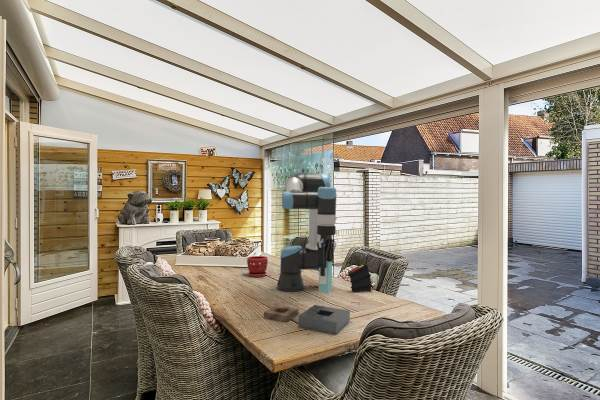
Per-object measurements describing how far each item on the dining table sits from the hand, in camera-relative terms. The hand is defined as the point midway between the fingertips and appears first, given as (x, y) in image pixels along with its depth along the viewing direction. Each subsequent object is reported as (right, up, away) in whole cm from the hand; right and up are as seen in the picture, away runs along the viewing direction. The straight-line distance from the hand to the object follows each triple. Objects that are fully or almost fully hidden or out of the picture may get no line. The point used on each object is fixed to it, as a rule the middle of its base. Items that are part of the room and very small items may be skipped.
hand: (325, 282), depth 146 cm
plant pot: (-38, -15, +85) cm, 95 cm away
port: (0, -17, 0) cm, 17 cm away
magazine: (+22, -17, +52) cm, 59 cm away
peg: (0, -4, 0) cm, 4 cm away
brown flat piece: (-18, -17, +9) cm, 26 cm away
